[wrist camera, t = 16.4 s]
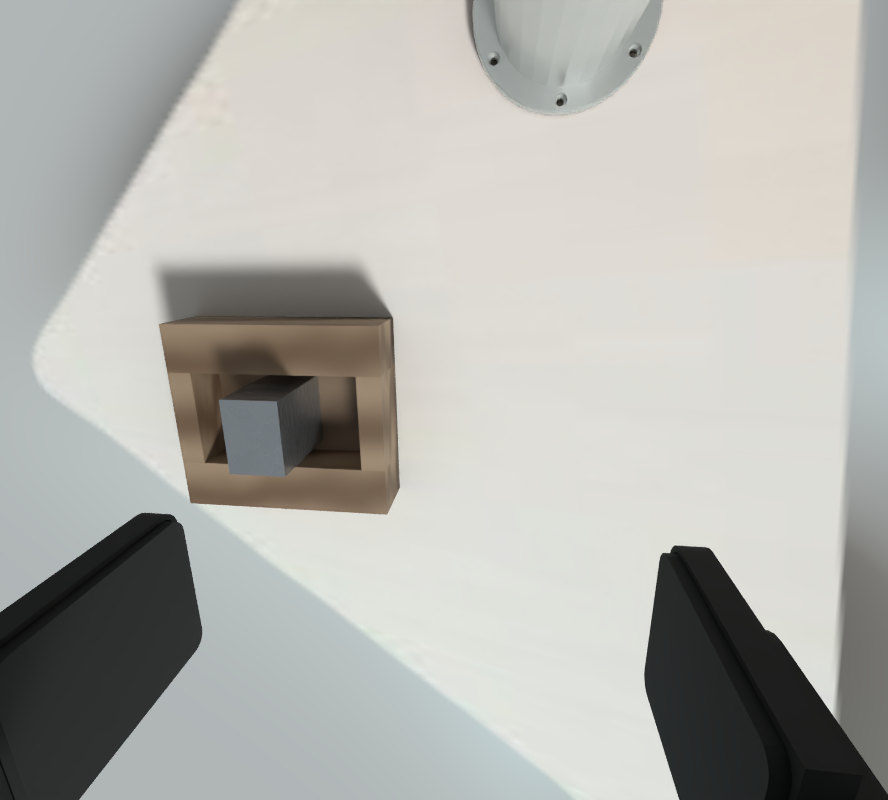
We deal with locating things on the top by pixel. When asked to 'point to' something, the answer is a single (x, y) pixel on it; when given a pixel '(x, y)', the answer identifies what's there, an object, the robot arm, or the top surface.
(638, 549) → the top surface
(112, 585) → the robot arm
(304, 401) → the tall blue-grey block
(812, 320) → the top surface
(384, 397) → the walnut well
